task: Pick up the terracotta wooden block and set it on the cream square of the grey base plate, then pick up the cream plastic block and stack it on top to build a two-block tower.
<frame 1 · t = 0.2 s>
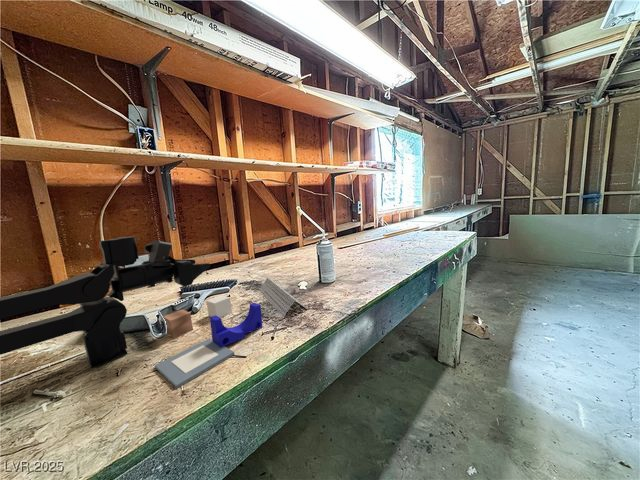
hand: (202, 263, 76), 16 cm above the table, tool horizontal, fingers open, 9 cm apart
grey base plate: (195, 360, 54), on the table
terracotta block: (179, 331, 69), on the table
blue cradle bracket: (240, 335, 63), on the table, touching grey base plate
corner bead: (280, 300, 86), on the table
cream block: (220, 314, 78), on the table
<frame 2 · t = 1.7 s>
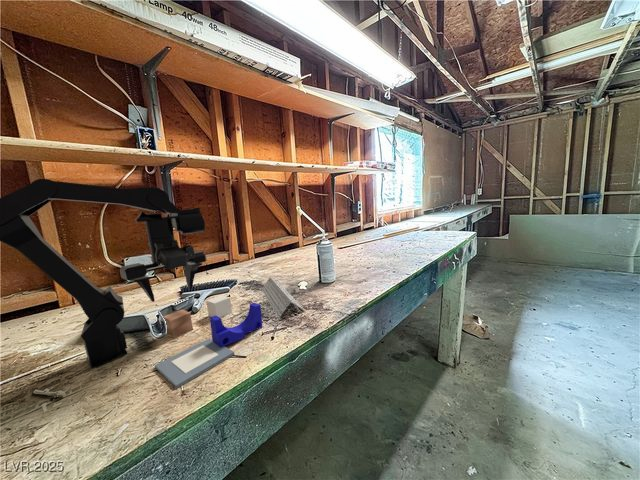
hand: (172, 295, 67), 10 cm above the table, tool pointing down, fingers open, 9 cm apart
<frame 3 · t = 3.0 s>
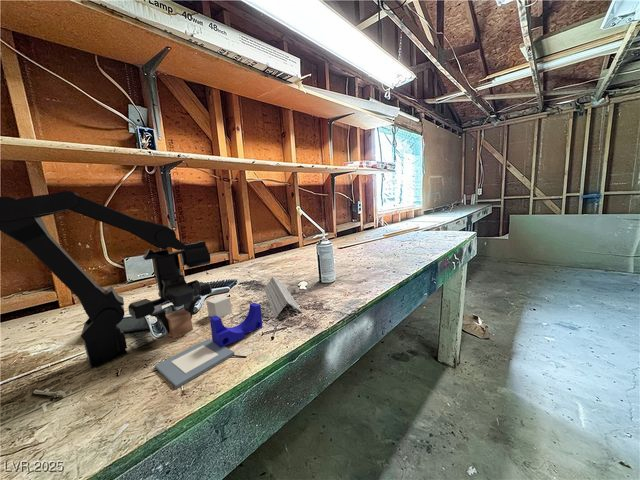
hand: (179, 328, 68), 1 cm above the table, tool pointing down, fingers closed on terracotta block, 5 cm apart
terracotta block: (179, 331, 69), on the table, touching gripper
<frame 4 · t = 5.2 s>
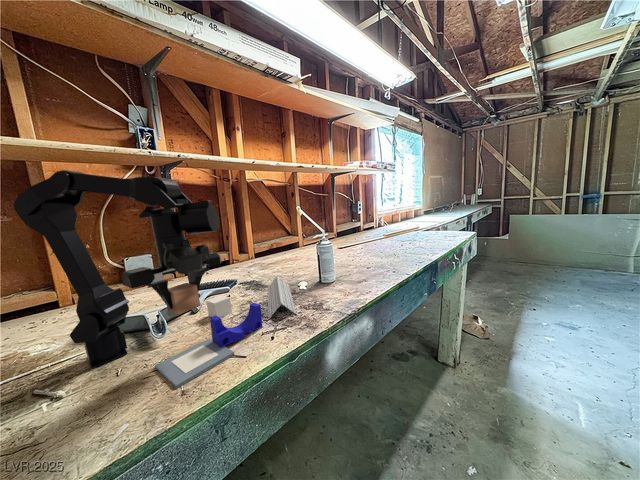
hand: (183, 304, 57), 11 cm above the table, tool pointing down, fingers closed on terracotta block, 5 cm apart
terracotta block: (184, 308, 57), point 10 cm above the table, touching gripper
when the fingers open (3 cm above the table, at t = 7.5 s): terracotta block drops 1 cm, resting on grey base plate.
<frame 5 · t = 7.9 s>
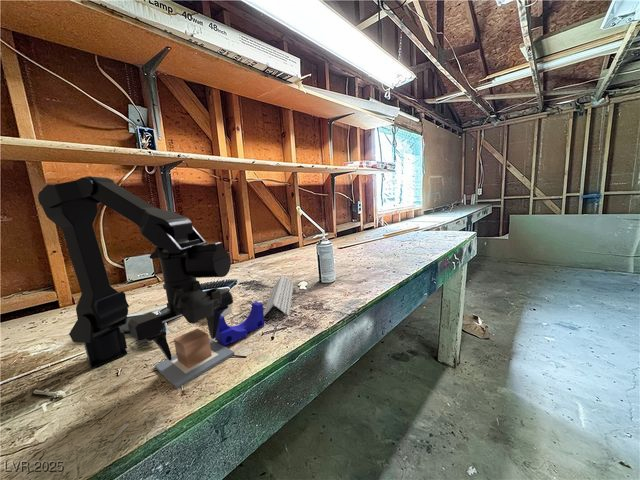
hand: (192, 348, 54), 3 cm above the table, tool pointing down, fingers open, 9 cm apart
terracotta block: (194, 358, 54), point 1 cm above the table, touching grey base plate
blue cradle bracket: (242, 333, 64), on the table, touching grey base plate, gripper
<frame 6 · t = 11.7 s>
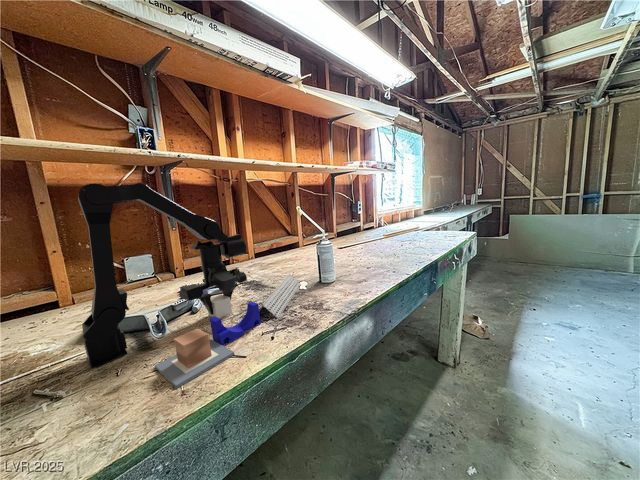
hand: (220, 310, 77), 1 cm above the table, tool pointing down, fingers closed on cream block, 5 cm apart
blue cradle bracket: (240, 334, 65), on the table
cream block: (220, 314, 78), on the table, touching gripper
when the fingers open (8 cm above the table, at t = 15.3 s): cream block drops 1 cm, resting on terracotta block.
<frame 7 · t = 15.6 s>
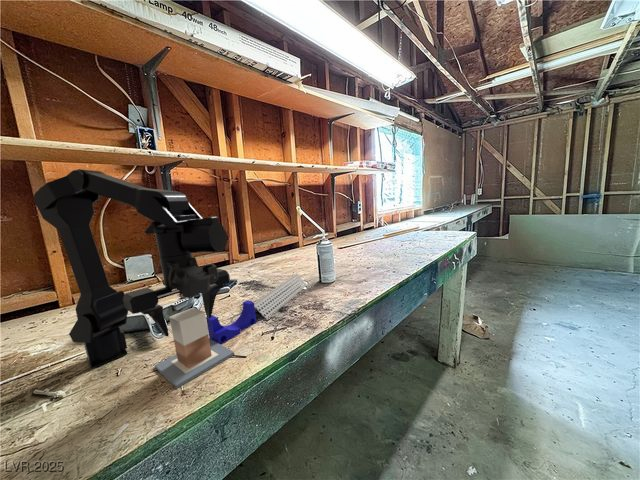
hand: (189, 326, 53), 8 cm above the table, tool pointing down, fingers open, 8 cm apart
terracotta block: (194, 358, 54), point 1 cm above the table, touching grey base plate, cream block
blue cradle bracket: (236, 332, 66), on the table
cream block: (191, 336, 53), point 6 cm above the table, touching terracotta block
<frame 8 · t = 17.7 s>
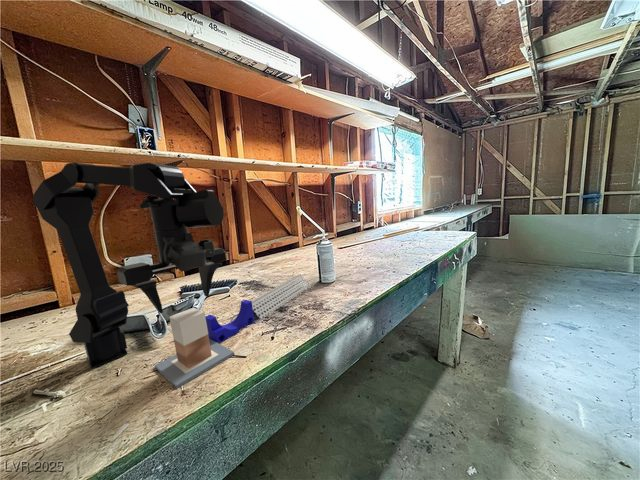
hand: (185, 303, 52), 13 cm above the table, tool pointing down, fingers open, 9 cm apart
at the end: terracotta block 0.0 cm off-centre on the grey base plate, point 0.7 cm above the grey base plate's base; cream block 0.1 cm off-centre on the terracotta block, point 5.0 cm above the terracotta block's base; cream block tilted 0° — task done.
